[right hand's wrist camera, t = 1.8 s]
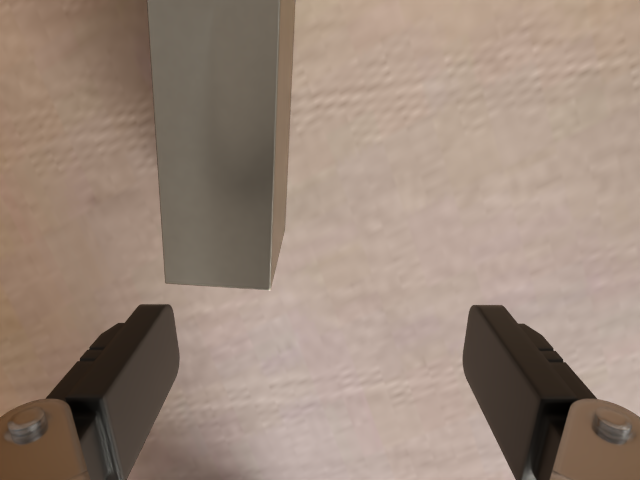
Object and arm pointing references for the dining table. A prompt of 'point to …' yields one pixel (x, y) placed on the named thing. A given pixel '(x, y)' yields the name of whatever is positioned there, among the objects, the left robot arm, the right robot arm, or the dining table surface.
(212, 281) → the bar
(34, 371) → the dining table surface
